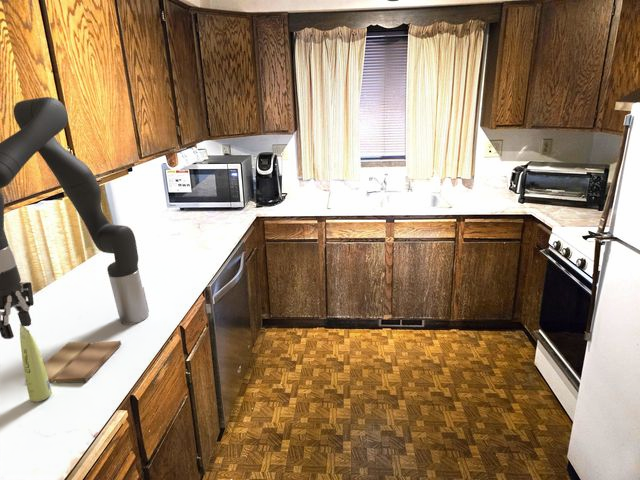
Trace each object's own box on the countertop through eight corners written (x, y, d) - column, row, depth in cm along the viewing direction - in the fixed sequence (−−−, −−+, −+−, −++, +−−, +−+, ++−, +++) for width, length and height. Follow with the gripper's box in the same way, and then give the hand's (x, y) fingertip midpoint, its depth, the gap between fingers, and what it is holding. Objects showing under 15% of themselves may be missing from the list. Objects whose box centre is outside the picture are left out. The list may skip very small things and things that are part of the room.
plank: (94, 345, 137) (93, 342, 137) (121, 344, 136) (120, 340, 136) (55, 382, 120) (54, 378, 120) (86, 381, 119) (84, 377, 119)
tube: (22, 403, 112) (5, 331, 108) (35, 392, 117) (19, 323, 113) (44, 402, 112) (28, 330, 108) (56, 391, 117) (41, 322, 113)
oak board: (69, 345, 138) (68, 342, 138) (92, 345, 137) (91, 342, 137) (28, 382, 121) (26, 378, 121) (53, 382, 120) (52, 378, 120)
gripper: (6, 256, 110) (25, 317, 115) (-45, 280, 96) (-21, 348, 102) (33, 255, 109) (52, 317, 114) (-14, 280, 95) (9, 348, 101)
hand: (17, 331), depth 108 cm, fingers open, 5 cm apart
